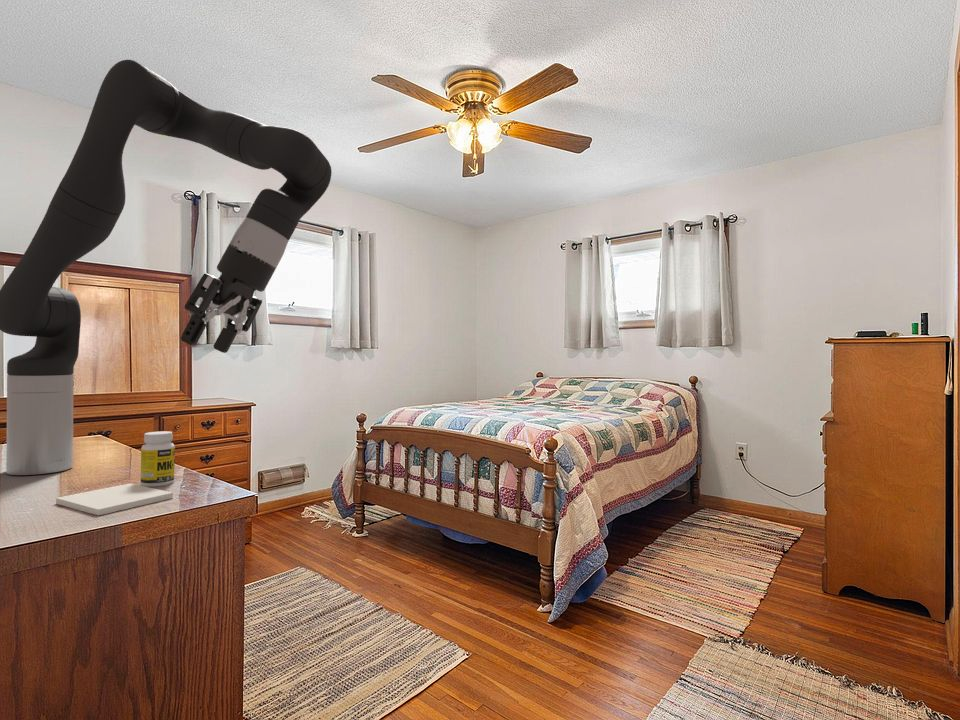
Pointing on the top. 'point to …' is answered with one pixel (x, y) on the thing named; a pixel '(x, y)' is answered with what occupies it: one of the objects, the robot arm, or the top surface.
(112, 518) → the top surface
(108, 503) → the mat
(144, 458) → the supplement bottle
